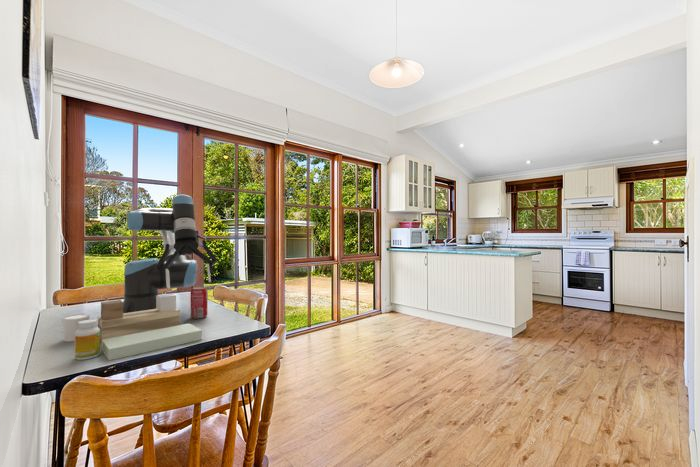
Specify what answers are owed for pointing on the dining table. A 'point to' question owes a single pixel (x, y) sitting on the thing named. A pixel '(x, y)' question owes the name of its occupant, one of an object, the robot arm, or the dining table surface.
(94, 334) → the supplement bottle
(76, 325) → the white cup
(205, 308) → the beverage can
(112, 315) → the brown wooden cube
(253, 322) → the dining table surface
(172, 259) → the robot arm
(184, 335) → the block
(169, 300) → the white cube
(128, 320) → the wooden block
